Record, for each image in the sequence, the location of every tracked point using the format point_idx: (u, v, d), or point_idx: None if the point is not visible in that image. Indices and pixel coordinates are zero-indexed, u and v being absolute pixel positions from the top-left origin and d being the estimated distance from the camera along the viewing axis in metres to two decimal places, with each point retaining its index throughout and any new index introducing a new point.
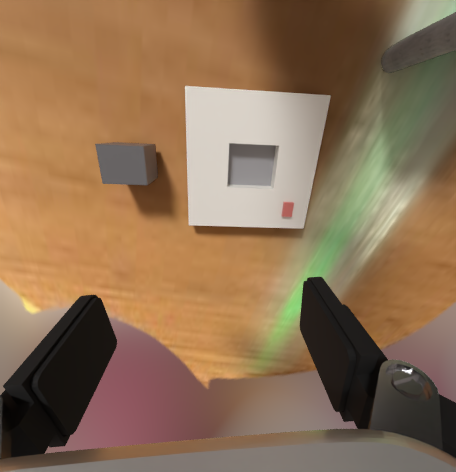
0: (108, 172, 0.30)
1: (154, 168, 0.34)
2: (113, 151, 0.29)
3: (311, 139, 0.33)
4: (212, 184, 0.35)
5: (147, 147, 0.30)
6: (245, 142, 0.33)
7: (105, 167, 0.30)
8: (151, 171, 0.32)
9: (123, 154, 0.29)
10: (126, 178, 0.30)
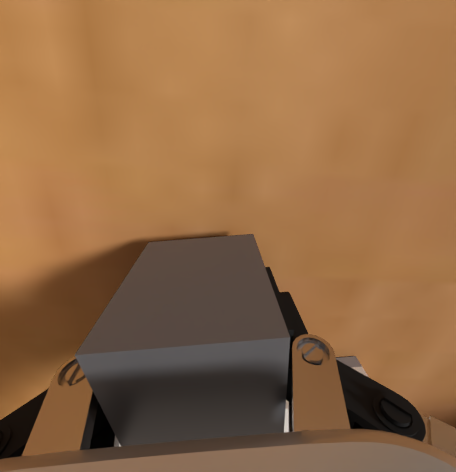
0: (149, 377, 0.06)
1: None
2: (256, 394, 0.06)
3: None
4: None
5: None
6: None
7: (173, 369, 0.05)
8: None
9: (248, 422, 0.07)
10: (144, 431, 0.07)
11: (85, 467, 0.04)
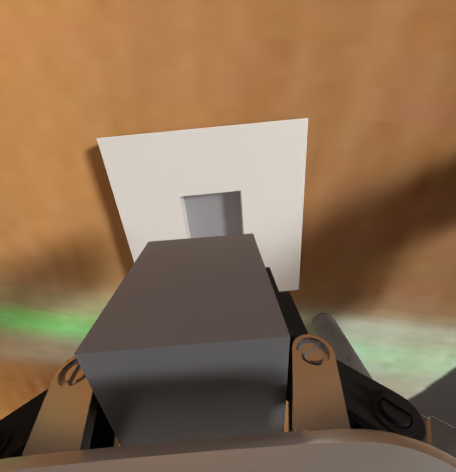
0: (149, 376, 0.06)
1: None
2: (256, 393, 0.06)
3: None
4: (178, 173, 0.23)
5: None
6: (244, 211, 0.24)
7: (173, 368, 0.05)
8: None
9: (248, 421, 0.07)
10: (144, 430, 0.07)
11: (85, 467, 0.04)
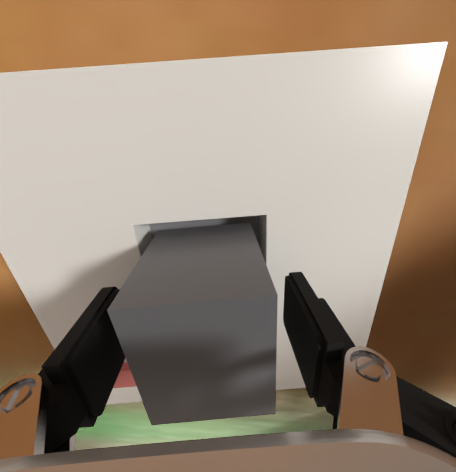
0: (165, 330, 0.07)
1: None
2: (251, 346, 0.07)
3: (280, 376, 0.16)
4: (127, 174, 0.10)
5: None
6: (270, 257, 0.12)
7: (184, 323, 0.07)
8: None
9: (245, 373, 0.08)
10: (159, 380, 0.08)
11: (85, 467, 0.04)
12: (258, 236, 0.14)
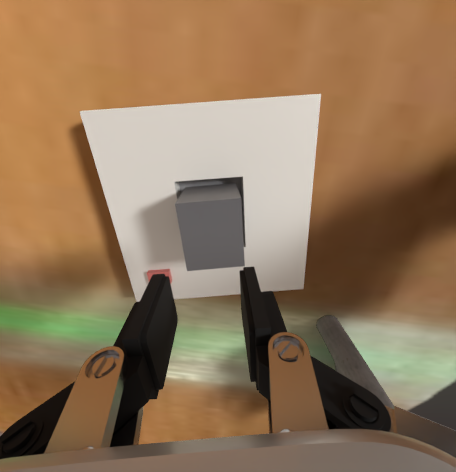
0: (196, 214, 0.17)
1: None
2: (232, 224, 0.18)
3: None
4: (173, 154, 0.20)
5: None
6: (245, 201, 0.22)
7: (204, 211, 0.17)
8: None
9: (230, 239, 0.18)
10: (192, 242, 0.18)
11: (85, 467, 0.04)
12: (241, 193, 0.24)
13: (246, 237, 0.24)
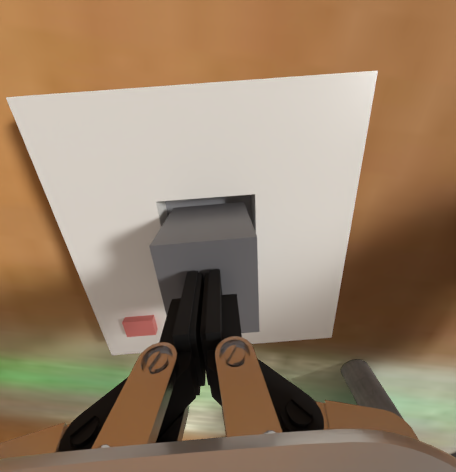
0: (185, 261, 0.11)
1: None
2: (241, 275, 0.11)
3: (269, 329, 0.20)
4: (153, 163, 0.14)
5: None
6: (258, 227, 0.16)
7: (197, 256, 0.11)
8: None
9: (237, 296, 0.12)
10: None
11: (85, 467, 0.04)
12: (250, 214, 0.17)
13: (258, 275, 0.17)
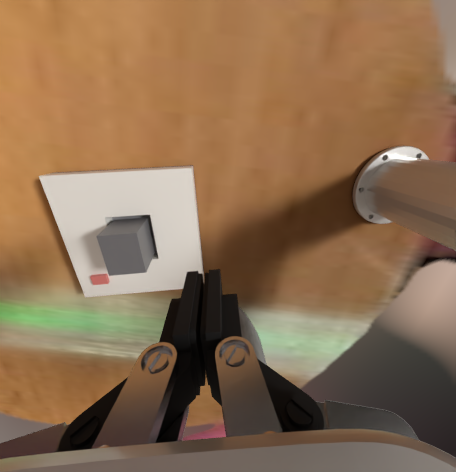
0: (110, 242, 0.29)
1: None
2: (133, 247, 0.29)
3: (169, 282, 0.38)
4: (102, 201, 0.31)
5: (147, 265, 0.32)
6: (154, 229, 0.34)
7: (115, 240, 0.28)
8: None
9: (133, 256, 0.30)
10: (110, 258, 0.29)
11: (85, 467, 0.04)
12: None
13: (158, 252, 0.35)
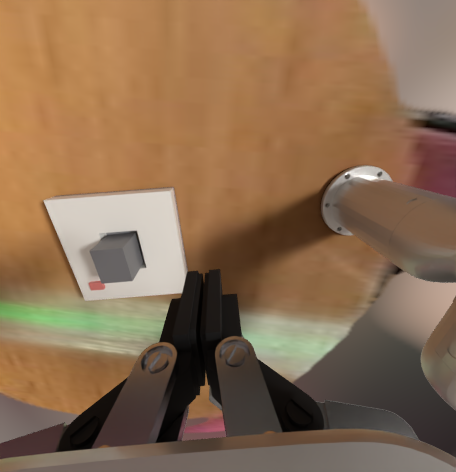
0: (101, 255, 0.34)
1: None
2: (120, 260, 0.34)
3: (157, 288, 0.43)
4: (96, 220, 0.37)
5: (134, 274, 0.38)
6: (141, 243, 0.39)
7: (105, 254, 0.34)
8: None
9: (121, 267, 0.35)
10: (101, 269, 0.35)
11: (85, 467, 0.04)
12: None
13: (145, 262, 0.40)
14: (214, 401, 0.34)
